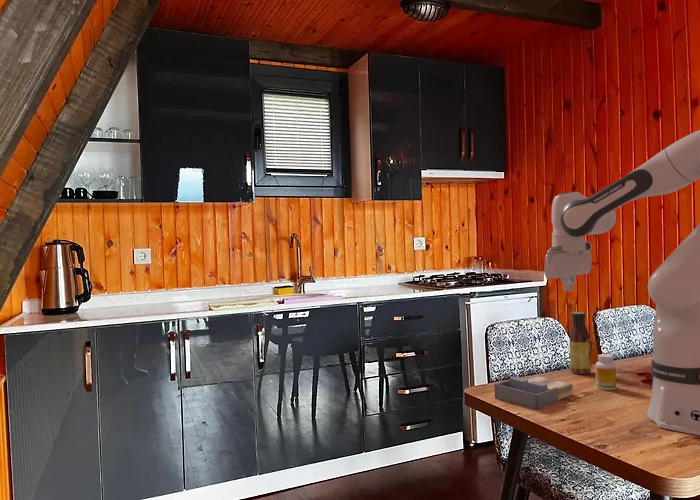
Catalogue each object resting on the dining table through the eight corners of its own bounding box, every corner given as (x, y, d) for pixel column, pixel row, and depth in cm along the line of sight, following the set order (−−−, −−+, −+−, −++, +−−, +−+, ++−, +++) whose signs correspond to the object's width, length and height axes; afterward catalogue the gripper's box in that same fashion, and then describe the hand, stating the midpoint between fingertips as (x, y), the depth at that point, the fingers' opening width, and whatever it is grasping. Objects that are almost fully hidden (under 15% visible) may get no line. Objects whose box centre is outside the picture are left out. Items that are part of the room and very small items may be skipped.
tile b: (528, 379, 154) (523, 381, 152) (528, 395, 154) (523, 397, 153) (515, 376, 157) (509, 378, 156) (515, 391, 158) (510, 393, 156)
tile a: (547, 384, 149) (542, 386, 148) (547, 400, 149) (542, 402, 148) (533, 380, 153) (527, 382, 151) (533, 396, 153) (528, 398, 151)
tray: (558, 401, 149) (558, 387, 149) (537, 409, 143) (537, 395, 143) (515, 390, 160) (515, 377, 160) (494, 397, 154) (494, 384, 154)
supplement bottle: (617, 391, 157) (616, 358, 157) (597, 389, 159) (596, 357, 158) (614, 385, 162) (614, 353, 162) (595, 384, 164) (594, 353, 163)
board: (572, 394, 155) (572, 384, 155) (555, 400, 150) (555, 390, 150) (536, 385, 165) (536, 375, 165) (519, 391, 160) (519, 381, 160)
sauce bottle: (594, 374, 174) (593, 314, 173) (574, 375, 174) (573, 314, 174) (585, 369, 181) (584, 311, 180) (567, 370, 181) (566, 311, 180)
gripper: (557, 247, 155) (558, 294, 155) (594, 244, 167) (595, 288, 167) (538, 247, 160) (539, 293, 160) (576, 244, 172) (576, 287, 173)
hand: (568, 290), depth 164 cm, fingers closed
